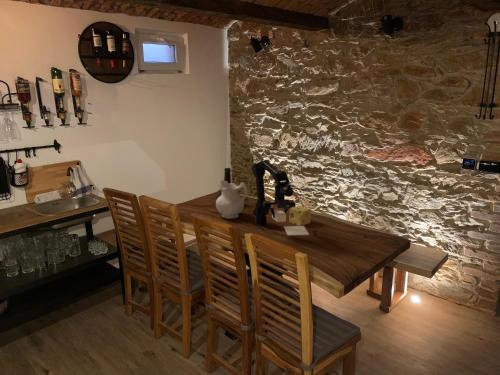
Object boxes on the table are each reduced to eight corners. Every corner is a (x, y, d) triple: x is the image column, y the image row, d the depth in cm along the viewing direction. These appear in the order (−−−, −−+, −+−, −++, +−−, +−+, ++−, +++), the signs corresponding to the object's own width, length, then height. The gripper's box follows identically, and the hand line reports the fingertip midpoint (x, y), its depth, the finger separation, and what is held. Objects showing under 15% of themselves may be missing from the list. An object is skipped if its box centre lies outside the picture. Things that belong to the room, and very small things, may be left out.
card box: (285, 221, 232) (286, 213, 231) (277, 222, 230) (277, 214, 229) (280, 216, 240) (280, 209, 238) (271, 217, 238) (272, 210, 237)
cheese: (300, 226, 251) (300, 212, 248) (288, 222, 259) (288, 207, 256) (311, 223, 258) (311, 208, 255) (299, 219, 266) (299, 204, 263)
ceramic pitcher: (248, 214, 277) (249, 179, 273) (245, 221, 258) (246, 184, 254) (218, 212, 279) (218, 178, 275) (213, 220, 260) (213, 183, 256)
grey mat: (287, 235, 236) (287, 234, 236) (283, 227, 249) (283, 226, 249) (309, 235, 237) (309, 234, 237) (303, 226, 251) (303, 226, 251)
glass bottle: (217, 209, 284) (217, 171, 276) (213, 202, 300) (213, 166, 293) (241, 207, 288) (242, 170, 281) (236, 200, 305) (236, 165, 298)
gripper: (266, 196, 222) (265, 222, 226) (298, 195, 224) (297, 221, 228) (263, 191, 232) (262, 216, 236) (293, 190, 235) (292, 215, 239)
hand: (278, 217), depth 235 cm, fingers closed on card box, 6 cm apart
